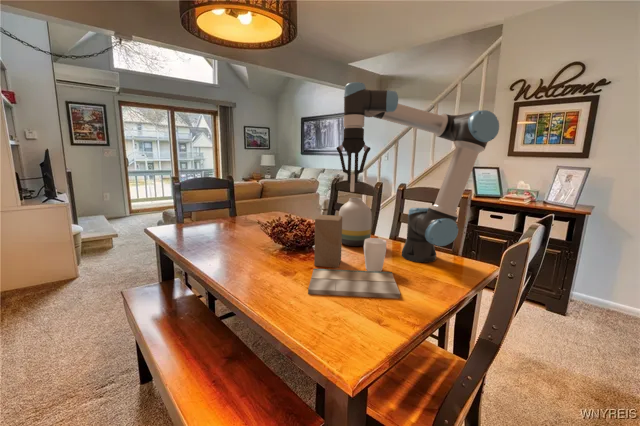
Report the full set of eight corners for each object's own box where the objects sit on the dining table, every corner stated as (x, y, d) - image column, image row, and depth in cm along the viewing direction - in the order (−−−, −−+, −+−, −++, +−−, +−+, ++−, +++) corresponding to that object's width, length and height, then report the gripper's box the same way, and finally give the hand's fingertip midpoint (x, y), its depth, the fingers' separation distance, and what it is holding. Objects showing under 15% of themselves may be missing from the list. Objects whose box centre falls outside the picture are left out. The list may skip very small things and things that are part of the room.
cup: (386, 267, 127) (388, 239, 125) (383, 274, 119) (385, 245, 117) (365, 264, 130) (366, 236, 128) (360, 271, 122) (361, 242, 120)
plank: (391, 276, 117) (391, 271, 117) (395, 286, 109) (395, 281, 108) (313, 272, 120) (313, 268, 119) (311, 282, 111) (311, 277, 111)
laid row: (395, 286, 108) (395, 282, 108) (399, 298, 99) (400, 293, 99) (311, 282, 110) (311, 278, 110) (308, 293, 101) (308, 289, 101)
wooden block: (337, 268, 125) (339, 220, 121) (314, 266, 127) (314, 219, 123) (341, 260, 135) (342, 215, 131) (319, 258, 137) (319, 214, 133)
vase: (331, 243, 160) (332, 198, 155) (350, 237, 172) (351, 195, 168) (358, 250, 149) (360, 201, 144) (376, 243, 161) (378, 198, 157)
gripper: (370, 128, 116) (368, 190, 121) (336, 128, 117) (335, 190, 121) (372, 126, 109) (370, 192, 113) (336, 126, 110) (335, 192, 114)
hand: (352, 191), depth 117 cm, fingers closed
